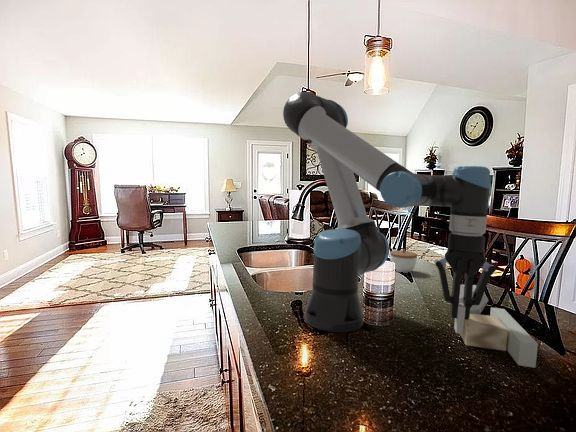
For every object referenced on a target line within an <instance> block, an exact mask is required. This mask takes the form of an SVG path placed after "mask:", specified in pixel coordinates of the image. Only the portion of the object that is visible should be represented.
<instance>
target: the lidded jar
mask: <svg viewBox="0 0 576 432" xmlns="http://www.w3.org/2000/svg"><path fill="white" fill-rule="evenodd" d="M389 254H390V257H389V258H390V259H389V260H390V262H391V261H392V262H394V263H395V269H396V271H395V272H397V273H401V272H403V273H402V274H408V272H409V273H411V271H413V270H414V269H415V267H416V264H417V257H418V254H417V253H415V252H412V251H407V250H406V249H405V248H402V250H391V251H389ZM395 269H394V270H395Z"/></svg>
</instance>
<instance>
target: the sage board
mask: <svg viewBox="0 0 576 432" xmlns="http://www.w3.org/2000/svg"><path fill="white" fill-rule="evenodd" d="M489 316H496V317H497V318H498V320H499V321H500V322H501V323H502V324H503V325H504V326H505V327H506V328H507V330H508V335H507V345H506V351H507V352H508V353H509V355H510V356H511V358H512V359H513V360H514V362H515V363H516V364H517V366H522V367H529V368H536V366H537V357H538V346H539V344H538V342H537V341H536V340H535V339H534V338H533V337H532V336H531V335H530V334H529V333H528V332H527V331H526V330H525V329H524V328H523V327H522V326H521V325H520V323H518V322H517V321H516V319H514V317H512V315H511V314H509V312H507V310H506V309H505V308H499V307H490V314H489Z"/></svg>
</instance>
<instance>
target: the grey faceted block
mask: <svg viewBox="0 0 576 432" xmlns="http://www.w3.org/2000/svg"><path fill="white" fill-rule="evenodd" d="M476 286H477V284H473V289H472V297H473V294H474V291H475V289H476ZM463 297H464V284H460V296H459V303H464V302H463ZM488 301H489V298H488V297H487V296H486V294H485V293H484V294H483V297H482V300H481V302H480V304H479V305H473V306H472V307H471V308H470V313H471V314H479V315H481V313H482V312H483V310H484V308H485V307H486V305H487V303H488Z"/></svg>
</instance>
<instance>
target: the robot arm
mask: <svg viewBox="0 0 576 432" xmlns="http://www.w3.org/2000/svg"><path fill="white" fill-rule="evenodd" d="M282 116H283V121H284V124H285V125H286V127H287V128H288V130H290V131H291V132H292V133H294V134H296V135H297V136H298V137H299V138H301V140H303V141H304V140H305V141H308V144H309V147H310V148H311V149H312V150H314V151H316V152H317V153H316V154H317V157H318V160H319V164H320V166H321V170H322V173H323V174H322V175H323V176H324V180H325V184H326V186H327V189H328V193H329V197H330V199H331V202H332V203H331V204H332V206H333V207H332V208H333V209H334V213H335V214H334V215H335V217H336V221H337V224H338V226H337V228H335V229H327V230H322V231H321V232H318V233H317V235H316V236H315V238H314V245H313V247H312V248H313V265H312V266H313V267H312V268H313V269H312V290H311V293H310V295H309V299H308V300H307V301H308V302H307V303H306V306H305V309H304V321H305V322H306V324H307V325H308V326H310V327H312V328H315V329H317V330H320V331H324V332H327V333H328V332H329V333H350V332H355V331H357V330H359V329H361V328H362V327H363V325H364V312H363V308H362V305H361V301H360V297H359V293H358V292H359V276H360V275H363V274H365V273H370V272H373V271H376V270H378V269H379V268H380V267H382V266H383V265H384V264H385V263H386V261H387V260H388V257H389V254H390V245H389V242H388V239H387V238H386V236H385V234H383V233H381V232H380V231H379V230H378V228H377V224H376V222H375V220H374V219H372V218H370V217H369V216H368V215H367V212H366V207H365V205H364V202H363V199H362V195H361V193H360V189H359V186H358V183H357V180H356V177H355V175H357V176H358V177H360V178H361V179H362V180H364V182H367V184H369V185H370V186H372V187H373V188H374V189H375V190H377V191H378V192H380V196H381V198H382V199H383V201H384V202H385V203H386V204H387V205H390V206H391V207H395V208H403V209H404V208H409V207H421V206H423V207H424V206H426V207H427V206H430V207H431V206H433V207H446V208H447V207H448V208H449V207H450V215H449V226H448V230H449V231H450V233H449V234H448V239H447V248H446V249H447V250H446V252H445V254H444V257H442V258H439V259H435V260H434V261H433V262H434V264H435V266H436V267H437V269H438V274H439V278H440V280H439V281H440V285H441V290H442V294H443V295H442V296H443V299H444V300H445V302H447V303H449V304H450V315H451V317H452V319H454V326H453V329H454V331H455V334H459V335H460V334H463V332H464V320H465V319H466V320H468V319H469V317H470V308H471V307H472V306H473V305H479V304H480V302H481V300H482V297H483V294H484V295H485V291H486V290H487V289H486V288H487V287H488V283H489V281H490V278H491V276H492V275H493V274H494V273H495V272H496V270H497V267H496V266H494V265H493V264H491V263H490V262H488V261H487V259H486V256H485V245H486V237H485V236H484V234H486V233H487V232H486V231H487V230H486V229H487V220H488V219H487V218H488V217H487V216H488V209H489V202H490V201H489V200H490V190H491V171H490V169H489V168H488V167H486V166H476V165H475V166H474V165H470V166H469V165H467V166H466V165H464V166H456V167H454V169H453V172H452V174H446V175H443V174H442V175H440V174H438V175H436V174H420V173H415V172H413V171H410V170H409V169H408V168H406V167H404V166H403V165H401V164H400V163H399V162H397V161H396V160H394V159H392V158H391V157H390V156H388V155H387V154H385V153H384V152H383V151H381V150H379V149H378V148H376V147H375V146H373V145H372V144H370V143H369V142H367V141H366V140H364V139H363V138H362V137H360V136H359V135H357V134H355V133H354V132H353V131H351V130H349V129H348V128H347V127H348V125H349V119H348V114H347V112H346V110H345V109H344V107H343V106H342V105H340V104H339V103H337V102H336V101H334V100H332V99H326V98H324V97H321V96H319V95H317V94H314V93H311V92H308V91H299V92H297V93H294V94H292V96H290V97H289V98H288V99H287V101H286V102H285V104H284V106H283V111H282ZM447 264H448V265H449V267H450V268H451V269H452V275H453V277H452V287H451V288H452V289H451V293H450V289H449V283H448V276H447V272H446V267H447ZM480 268H481V269H482V271H481V273H480V275H479V277H478V281H477V283H476V285H477V286H476V289H475V291H474V294H473V297H472V289H473V285H474V279H475V273H476V272H478V270H479V269H480ZM463 274H464V284H463V285H464V297H463V302H464V303H459V296H460V285H462V284H461V282H462V277H463V276H462V275H463Z"/></svg>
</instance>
